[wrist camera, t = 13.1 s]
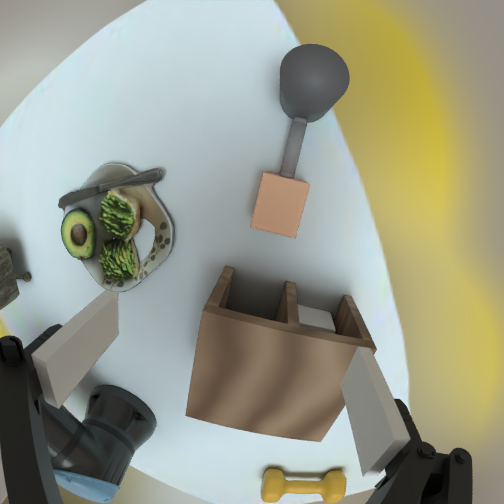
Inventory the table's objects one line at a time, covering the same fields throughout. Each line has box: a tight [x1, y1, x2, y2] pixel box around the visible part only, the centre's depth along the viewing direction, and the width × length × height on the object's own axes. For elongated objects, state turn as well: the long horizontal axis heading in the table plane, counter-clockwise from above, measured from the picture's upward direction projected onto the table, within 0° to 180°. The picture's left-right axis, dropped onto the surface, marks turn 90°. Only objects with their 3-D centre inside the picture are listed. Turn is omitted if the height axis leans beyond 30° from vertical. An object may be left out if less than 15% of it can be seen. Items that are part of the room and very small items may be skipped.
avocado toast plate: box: [58, 164, 174, 292], centre depth 36 cm, size 19×18×5 cm
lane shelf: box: [186, 266, 377, 442], centre depth 35 cm, size 18×16×12 cm
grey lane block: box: [298, 305, 336, 334], centre depth 38 cm, size 5×6×5 cm
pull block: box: [250, 44, 349, 238], centre depth 28 cm, size 6×19×11 cm, turn 167°
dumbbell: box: [261, 469, 346, 503], centre depth 49 cm, size 19×9×8 cm, turn 83°
